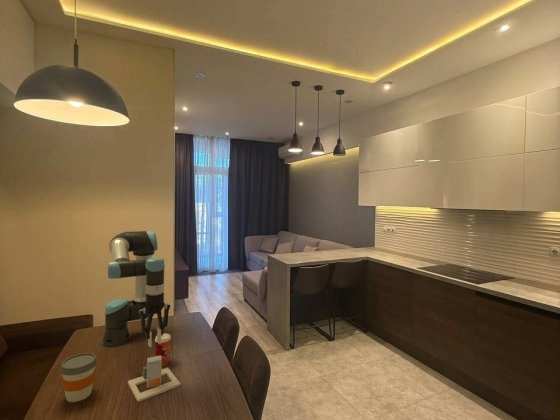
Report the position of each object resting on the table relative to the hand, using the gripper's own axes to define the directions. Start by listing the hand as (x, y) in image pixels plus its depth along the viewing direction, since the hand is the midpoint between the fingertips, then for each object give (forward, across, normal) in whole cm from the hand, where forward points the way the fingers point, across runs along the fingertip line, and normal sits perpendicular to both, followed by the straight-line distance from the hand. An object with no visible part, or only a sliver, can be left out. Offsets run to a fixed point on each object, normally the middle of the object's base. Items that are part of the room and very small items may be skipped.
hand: (154, 344), depth 134 cm
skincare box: (+19, 0, 0) cm, 19 cm away
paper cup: (+19, +9, +15) cm, 26 cm away
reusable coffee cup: (+19, -27, +12) cm, 35 cm away
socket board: (+19, 0, 0) cm, 19 cm away
